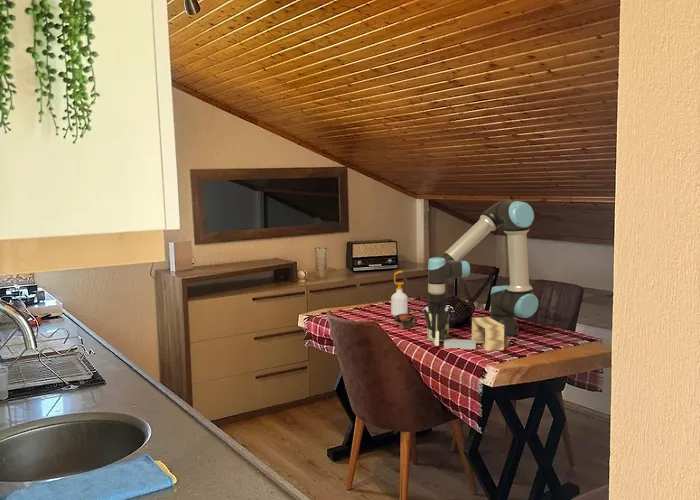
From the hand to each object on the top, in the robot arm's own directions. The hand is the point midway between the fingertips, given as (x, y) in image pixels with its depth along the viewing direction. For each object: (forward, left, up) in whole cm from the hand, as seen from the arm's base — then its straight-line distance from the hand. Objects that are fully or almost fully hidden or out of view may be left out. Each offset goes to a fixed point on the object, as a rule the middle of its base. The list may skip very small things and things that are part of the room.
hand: (436, 344), depth 300 cm
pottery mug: (+2, -43, -2) cm, 43 cm away
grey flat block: (-11, 0, -2) cm, 11 cm away
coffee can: (-6, -16, -2) cm, 17 cm away
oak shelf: (-26, 0, -2) cm, 26 cm away
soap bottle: (-3, -74, -2) cm, 74 cm away
